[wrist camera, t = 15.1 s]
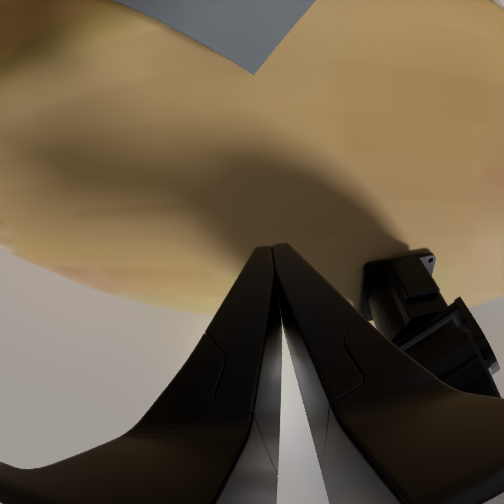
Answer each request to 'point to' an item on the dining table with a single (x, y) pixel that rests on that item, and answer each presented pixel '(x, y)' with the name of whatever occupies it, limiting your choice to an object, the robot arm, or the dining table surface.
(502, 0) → the plate
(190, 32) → the slate slab
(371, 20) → the dining table surface
